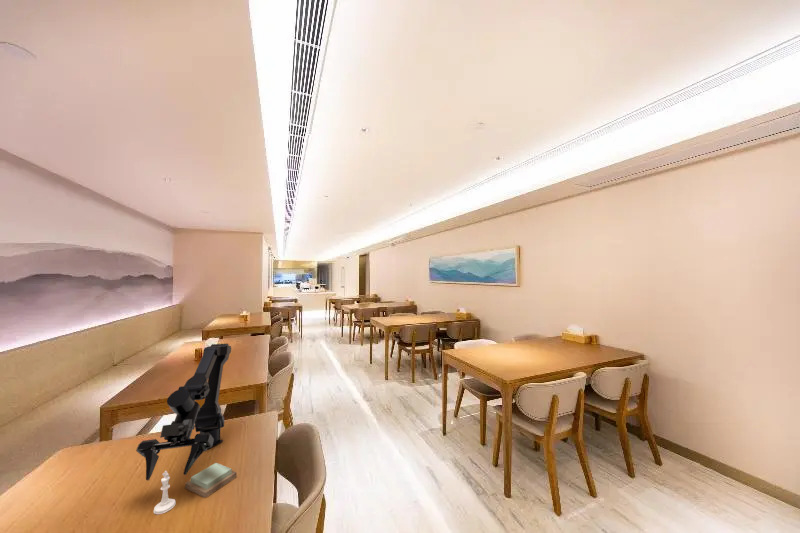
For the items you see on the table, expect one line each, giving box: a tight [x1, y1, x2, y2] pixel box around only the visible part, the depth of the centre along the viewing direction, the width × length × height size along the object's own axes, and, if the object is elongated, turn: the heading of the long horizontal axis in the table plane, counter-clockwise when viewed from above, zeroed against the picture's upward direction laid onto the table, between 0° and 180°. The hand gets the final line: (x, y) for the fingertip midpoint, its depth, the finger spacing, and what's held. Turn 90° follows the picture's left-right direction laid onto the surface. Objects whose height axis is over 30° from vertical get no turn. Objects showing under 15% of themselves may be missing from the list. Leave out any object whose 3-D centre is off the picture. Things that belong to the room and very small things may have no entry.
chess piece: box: [153, 470, 176, 515], centre depth 83 cm, size 5×5×10 cm
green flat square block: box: [184, 462, 238, 499], centre depth 93 cm, size 10×10×3 cm
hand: (166, 477), depth 84 cm, fingers open, 9 cm apart
